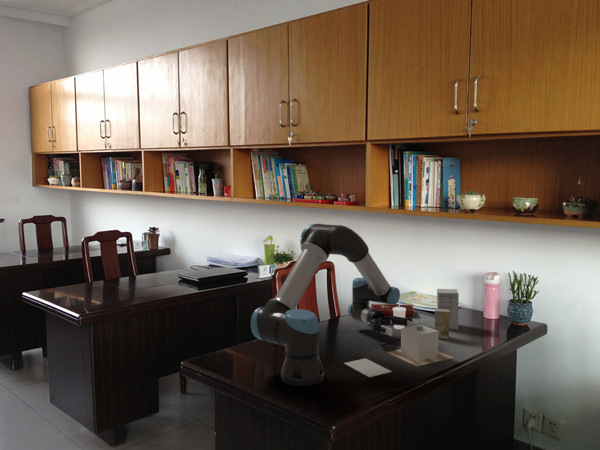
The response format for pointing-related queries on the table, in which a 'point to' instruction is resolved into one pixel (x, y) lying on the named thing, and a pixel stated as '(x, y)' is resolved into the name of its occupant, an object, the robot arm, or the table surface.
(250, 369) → the table surface
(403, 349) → the dust cover
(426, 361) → the birch board
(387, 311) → the hardcover book
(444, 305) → the supplement box
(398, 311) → the beverage cup
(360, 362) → the grey mat
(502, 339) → the table surface
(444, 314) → the skincare box
